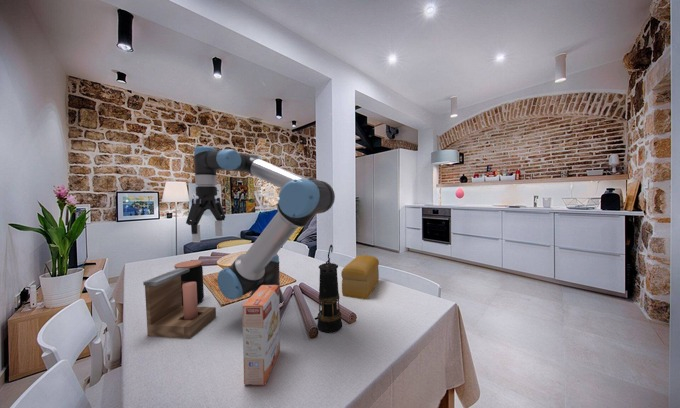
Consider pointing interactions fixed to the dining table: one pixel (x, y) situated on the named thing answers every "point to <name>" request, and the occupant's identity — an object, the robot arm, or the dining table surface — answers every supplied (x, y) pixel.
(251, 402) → the dining table surface
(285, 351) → the dining table surface
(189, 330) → the station
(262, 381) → the cracker box
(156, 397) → the dining table surface
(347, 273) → the bread
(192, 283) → the peg
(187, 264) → the coffee jar
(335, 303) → the lantern
